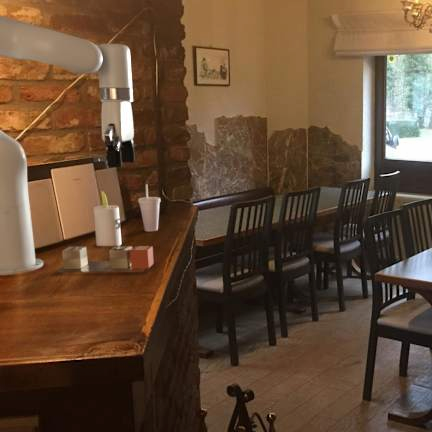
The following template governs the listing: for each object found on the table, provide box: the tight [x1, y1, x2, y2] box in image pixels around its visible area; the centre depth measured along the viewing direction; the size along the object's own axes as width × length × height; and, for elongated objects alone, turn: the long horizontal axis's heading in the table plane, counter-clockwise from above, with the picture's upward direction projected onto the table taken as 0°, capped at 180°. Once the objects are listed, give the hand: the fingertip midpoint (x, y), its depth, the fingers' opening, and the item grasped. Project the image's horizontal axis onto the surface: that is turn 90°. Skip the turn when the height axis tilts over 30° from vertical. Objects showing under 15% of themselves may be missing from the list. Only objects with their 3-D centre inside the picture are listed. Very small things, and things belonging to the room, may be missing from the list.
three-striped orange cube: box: [130, 245, 154, 269], centre depth 150 cm, size 4×4×4 cm
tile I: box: [61, 246, 89, 269], centre depth 149 cm, size 4×4×4 cm
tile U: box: [108, 245, 133, 269], centre depth 149 cm, size 4×4×4 cm
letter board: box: [56, 260, 147, 273], centre depth 150 cm, size 20×9×1 cm, turn 94°
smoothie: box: [137, 183, 162, 232], centre depth 188 cm, size 6×6×14 cm
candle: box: [92, 190, 122, 247], centre depth 170 cm, size 6×6×15 cm
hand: (121, 164), depth 159 cm, fingers open, 9 cm apart
